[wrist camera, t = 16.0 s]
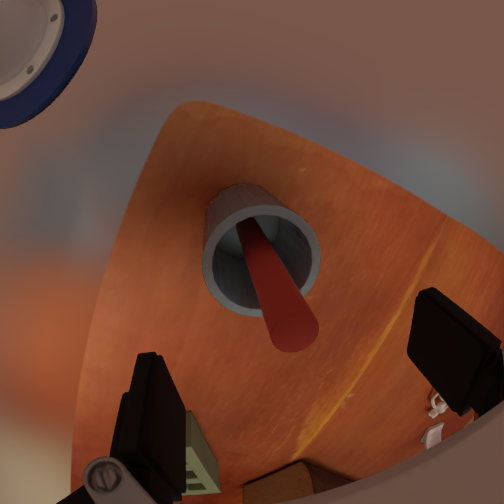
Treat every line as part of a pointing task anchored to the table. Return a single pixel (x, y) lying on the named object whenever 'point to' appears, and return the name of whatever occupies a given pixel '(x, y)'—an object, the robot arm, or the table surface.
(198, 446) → the rack
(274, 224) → the grey pencil cup
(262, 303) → the red cylindrical rod
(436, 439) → the headphone stand
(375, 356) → the table surface
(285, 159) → the table surface
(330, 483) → the bread
